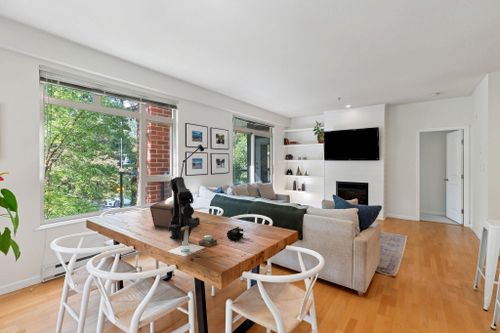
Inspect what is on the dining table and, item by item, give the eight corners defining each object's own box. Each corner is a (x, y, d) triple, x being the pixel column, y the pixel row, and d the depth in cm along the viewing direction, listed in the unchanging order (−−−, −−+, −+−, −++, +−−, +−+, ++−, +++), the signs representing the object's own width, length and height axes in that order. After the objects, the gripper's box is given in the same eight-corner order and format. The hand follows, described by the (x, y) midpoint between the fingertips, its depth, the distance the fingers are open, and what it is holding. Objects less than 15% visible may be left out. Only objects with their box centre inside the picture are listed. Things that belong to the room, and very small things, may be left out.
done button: (202, 241, 146) (202, 236, 146) (207, 239, 150) (207, 234, 150) (208, 242, 144) (208, 238, 143) (213, 240, 148) (213, 235, 148)
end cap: (235, 235, 163) (235, 226, 163) (243, 237, 159) (243, 227, 159) (226, 240, 154) (226, 229, 154) (235, 241, 151) (235, 231, 151)
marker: (180, 245, 134) (180, 228, 134) (185, 243, 137) (185, 227, 137) (185, 246, 132) (184, 229, 132) (190, 244, 135) (189, 227, 135)
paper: (167, 252, 134) (167, 251, 134) (188, 243, 148) (188, 243, 147) (184, 256, 127) (184, 256, 127) (205, 247, 140) (205, 247, 140)
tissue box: (154, 230, 191) (148, 202, 186) (179, 215, 215) (174, 190, 210) (176, 234, 180) (170, 204, 175) (199, 218, 204) (195, 191, 199)
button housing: (198, 244, 146) (198, 240, 146) (207, 240, 152) (207, 237, 152) (208, 246, 141) (208, 242, 141) (217, 243, 148) (217, 239, 148)
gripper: (182, 218, 122) (182, 248, 123) (206, 211, 138) (206, 238, 139) (167, 215, 128) (168, 244, 128) (192, 209, 144) (192, 235, 144)
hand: (185, 240), depth 135 cm, fingers closed on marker, 4 cm apart
